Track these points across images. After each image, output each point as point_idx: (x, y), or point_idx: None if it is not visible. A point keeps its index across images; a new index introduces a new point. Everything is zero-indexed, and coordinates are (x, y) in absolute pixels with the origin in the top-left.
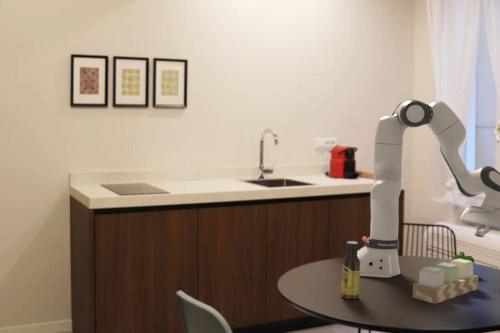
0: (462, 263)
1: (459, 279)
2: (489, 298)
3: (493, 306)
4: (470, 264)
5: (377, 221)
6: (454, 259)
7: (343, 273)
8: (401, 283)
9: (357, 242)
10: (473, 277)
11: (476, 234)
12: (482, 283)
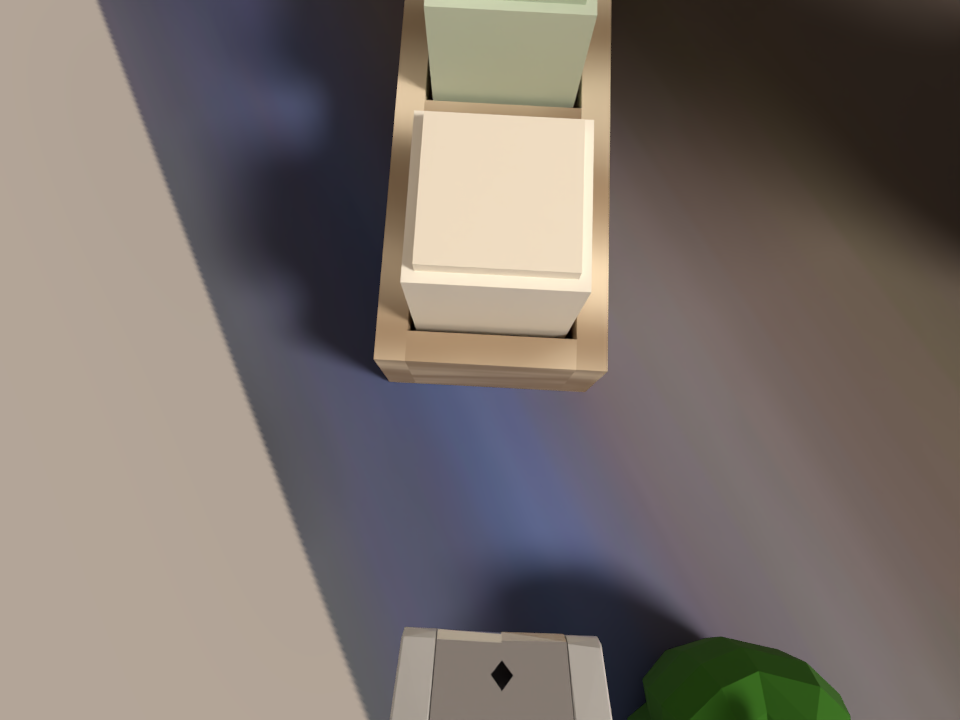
0: (451, 116)
1: None
2: (225, 222)
3: (139, 77)
4: (405, 222)
5: None
6: (826, 684)
7: None
8: (845, 83)
9: None
10: (383, 275)
11: (551, 635)
12: (438, 589)
